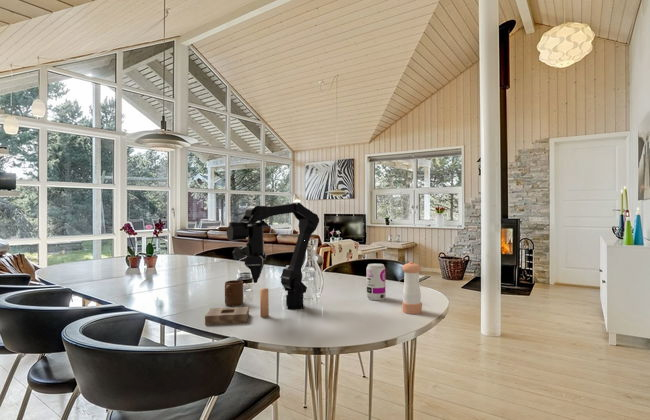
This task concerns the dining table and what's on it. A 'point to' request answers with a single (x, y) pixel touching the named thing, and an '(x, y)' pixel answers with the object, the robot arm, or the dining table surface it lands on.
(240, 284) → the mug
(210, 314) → the hole block
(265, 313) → the peg
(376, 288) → the supplement can
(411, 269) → the pepper shaker
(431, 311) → the dining table surface
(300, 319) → the dining table surface
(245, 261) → the robot arm
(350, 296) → the dining table surface
